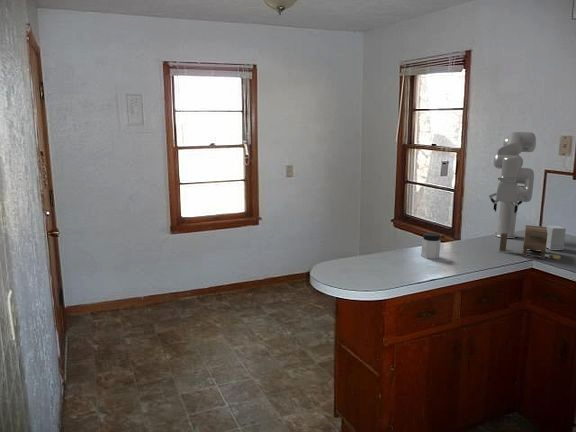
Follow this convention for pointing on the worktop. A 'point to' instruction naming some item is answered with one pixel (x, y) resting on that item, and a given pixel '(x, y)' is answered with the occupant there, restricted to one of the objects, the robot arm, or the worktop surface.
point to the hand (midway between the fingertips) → (505, 212)
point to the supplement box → (555, 237)
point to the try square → (504, 250)
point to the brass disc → (555, 256)
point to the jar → (431, 245)
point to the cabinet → (535, 239)
